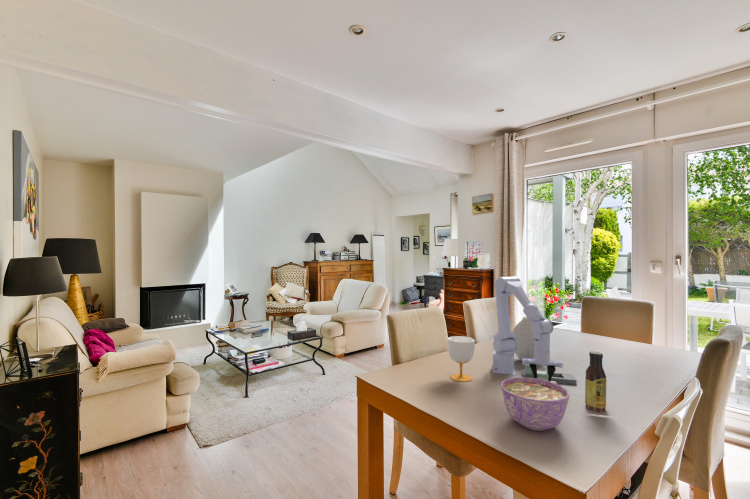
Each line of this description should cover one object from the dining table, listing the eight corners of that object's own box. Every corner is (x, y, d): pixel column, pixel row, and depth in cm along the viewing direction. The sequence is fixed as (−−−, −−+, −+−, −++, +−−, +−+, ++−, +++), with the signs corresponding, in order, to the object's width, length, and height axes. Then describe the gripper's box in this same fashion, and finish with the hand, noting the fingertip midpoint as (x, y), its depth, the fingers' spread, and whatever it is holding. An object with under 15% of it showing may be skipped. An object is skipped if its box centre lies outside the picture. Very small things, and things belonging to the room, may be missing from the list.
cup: (479, 377, 155) (479, 339, 155) (466, 385, 146) (466, 343, 147) (456, 371, 163) (456, 334, 163) (442, 378, 154) (442, 339, 155)
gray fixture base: (524, 381, 151) (524, 365, 151) (522, 374, 159) (522, 360, 159) (576, 386, 145) (576, 370, 145) (572, 379, 153) (571, 364, 153)
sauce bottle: (599, 415, 119) (599, 356, 120) (581, 408, 125) (580, 351, 125) (610, 411, 122) (610, 353, 123) (592, 404, 128) (592, 349, 128)
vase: (548, 359, 181) (547, 316, 182) (543, 368, 168) (543, 321, 168) (514, 355, 190) (514, 313, 190) (508, 362, 176) (508, 318, 177)
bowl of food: (494, 429, 110) (494, 391, 110) (507, 405, 127) (507, 373, 127) (567, 448, 99) (567, 406, 99) (571, 419, 116) (571, 384, 116)
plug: (537, 388, 141) (537, 373, 141) (535, 385, 145) (535, 370, 145) (548, 390, 140) (548, 374, 140) (546, 386, 144) (546, 371, 144)
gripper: (523, 350, 141) (523, 385, 141) (564, 354, 137) (564, 389, 136) (521, 346, 148) (521, 379, 147) (560, 349, 143) (560, 382, 143)
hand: (542, 383), depth 142 cm, fingers closed on plug, 4 cm apart
